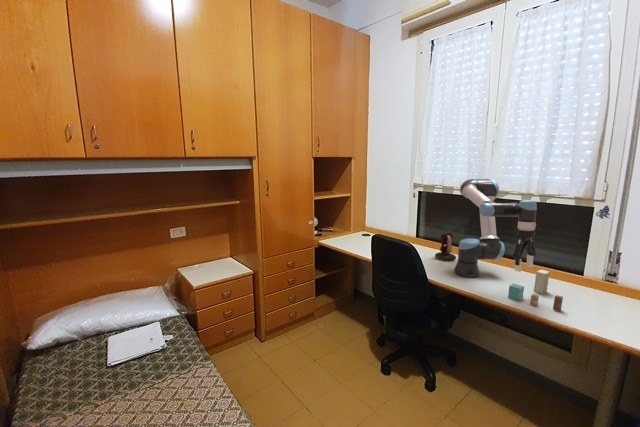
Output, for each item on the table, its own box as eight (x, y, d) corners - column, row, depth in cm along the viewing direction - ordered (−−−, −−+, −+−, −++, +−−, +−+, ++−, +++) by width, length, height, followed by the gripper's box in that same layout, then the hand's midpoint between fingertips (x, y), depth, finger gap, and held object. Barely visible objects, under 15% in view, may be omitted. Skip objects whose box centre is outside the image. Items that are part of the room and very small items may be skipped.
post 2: (552, 309, 147) (554, 296, 146) (554, 307, 148) (556, 295, 147) (559, 311, 145) (561, 298, 144) (561, 309, 146) (563, 296, 145)
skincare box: (538, 288, 171) (540, 269, 169) (547, 291, 167) (550, 271, 165) (533, 291, 167) (536, 271, 165) (542, 294, 164) (545, 273, 162)
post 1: (529, 304, 152) (531, 295, 152) (531, 302, 154) (533, 293, 153) (535, 306, 150) (536, 296, 150) (537, 304, 152) (538, 295, 151)
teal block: (508, 296, 161) (509, 285, 159) (512, 294, 164) (513, 283, 162) (518, 300, 156) (520, 288, 155) (522, 297, 159) (524, 286, 158)
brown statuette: (449, 263, 215) (451, 237, 211) (431, 258, 226) (432, 233, 223) (459, 259, 223) (461, 234, 220) (441, 254, 235) (443, 230, 232)
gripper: (523, 232, 143) (520, 274, 145) (544, 228, 157) (542, 267, 159) (506, 230, 150) (504, 270, 152) (528, 227, 163) (526, 264, 165)
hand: (523, 269), depth 155 cm, fingers open, 13 cm apart
